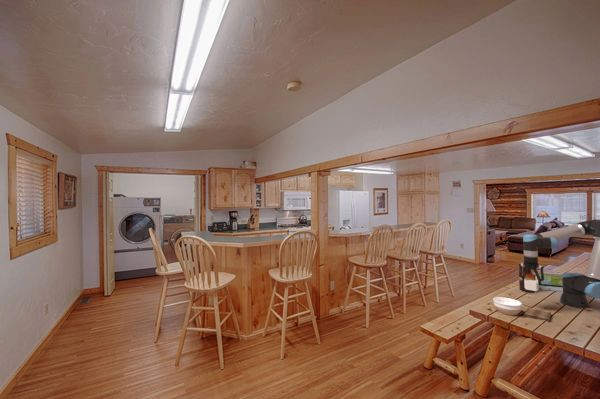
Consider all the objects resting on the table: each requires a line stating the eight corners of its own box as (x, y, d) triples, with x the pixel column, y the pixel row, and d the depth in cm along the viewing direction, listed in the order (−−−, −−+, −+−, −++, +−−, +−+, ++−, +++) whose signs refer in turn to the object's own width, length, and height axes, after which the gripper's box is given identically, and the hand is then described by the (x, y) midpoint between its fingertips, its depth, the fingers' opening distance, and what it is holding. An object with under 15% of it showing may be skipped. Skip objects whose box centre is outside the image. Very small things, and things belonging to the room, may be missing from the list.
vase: (523, 288, 231) (522, 265, 231) (538, 291, 221) (537, 267, 222) (516, 290, 227) (515, 266, 227) (532, 293, 217) (531, 269, 217)
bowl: (524, 319, 173) (524, 307, 173) (494, 314, 181) (494, 302, 182) (520, 310, 187) (519, 299, 187) (492, 306, 195) (491, 295, 195)
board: (551, 315, 177) (551, 312, 177) (549, 322, 168) (548, 318, 168) (527, 310, 186) (527, 307, 186) (524, 316, 177) (524, 313, 177)
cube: (538, 289, 186) (537, 280, 186) (536, 291, 182) (536, 282, 182) (527, 287, 190) (526, 279, 191) (525, 289, 187) (525, 280, 187)
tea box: (542, 290, 225) (541, 273, 225) (537, 286, 234) (536, 270, 234) (565, 292, 219) (564, 274, 219) (558, 288, 228) (558, 271, 228)
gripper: (549, 257, 182) (550, 290, 181) (514, 253, 196) (515, 284, 196) (548, 259, 177) (549, 293, 177) (512, 255, 191) (513, 286, 191)
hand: (531, 288), depth 186 cm, fingers closed on cube, 6 cm apart
